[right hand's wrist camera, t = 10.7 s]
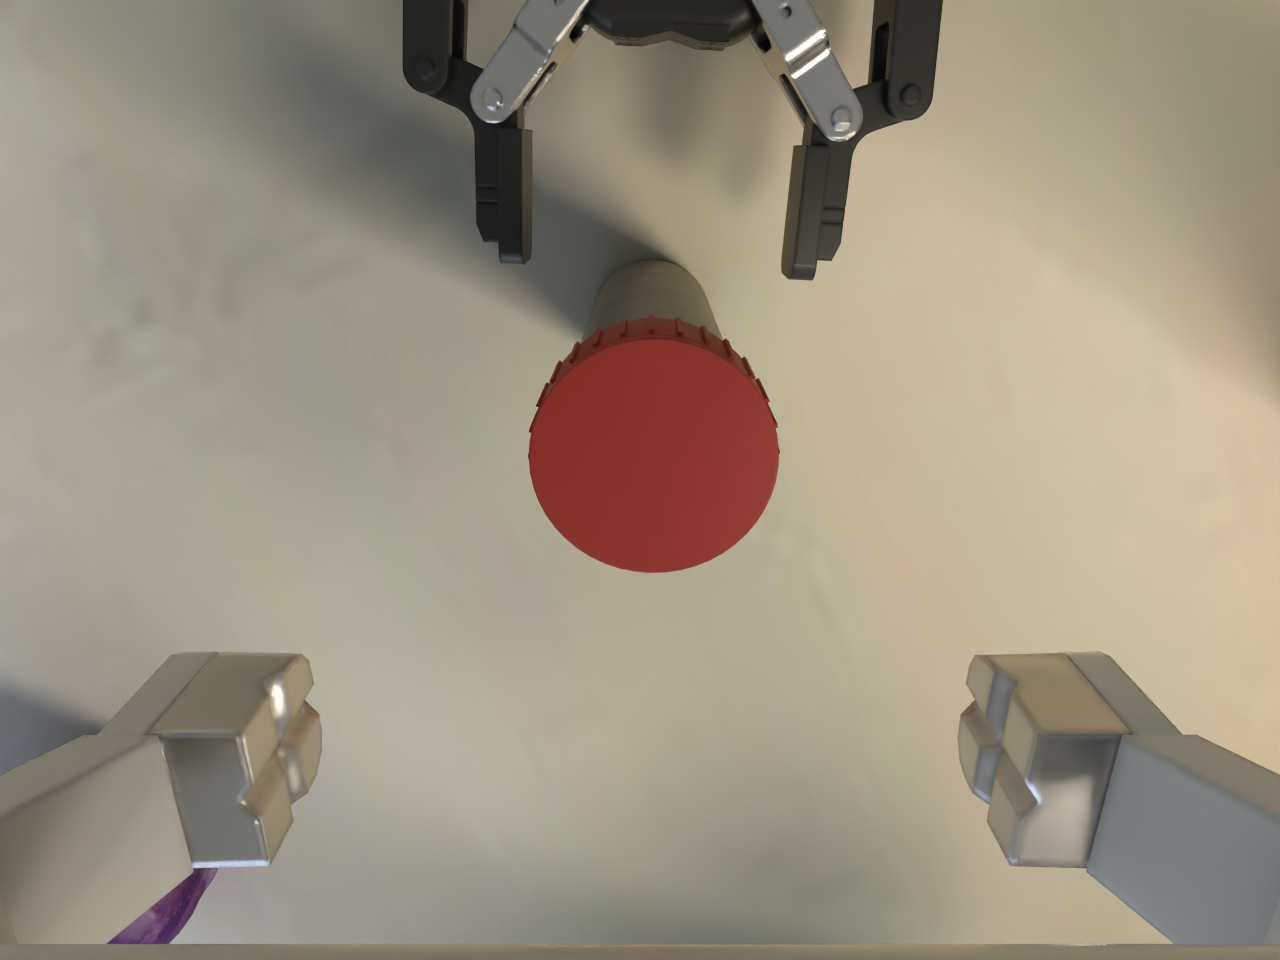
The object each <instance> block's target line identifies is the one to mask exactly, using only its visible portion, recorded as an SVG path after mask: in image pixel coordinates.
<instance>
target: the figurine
mask: <svg viewBox="0 0 1280 960" xmlns="http://www.w3.org/2000/svg"><path fill="white" fill-rule="evenodd" d="M217 869H218V867H214V868H193V870H194V871H193V873H192V874H191V875H189V876H188V877H187V878H186V879H185V880H183V881H182V882H181V883H180V884H178V885H177V886H176V887H175V888H174V889H172V890H171V891H170V892H169V893H167V894H166V895H165V896H164V897H163V898H161V899H160V900H159V901H158V902H157V903H155V904H154V905H153V906H152V907H150V908H149V909H148V910H147V911H146V912H144V913H143V914H142V915H141V916H139V917H138V918H137V919H136V920H135V921H133V922H132V923H131V924H130V925H128V926H127V927H126V928H125V929H124V930H122V931H121V932H120V933H119V934H117V935H116V936H115V937H114V938H113V939H111V940H110V941H109V942H108V943H106V944H169V943H170V942H171V941H172V940H173V939H174V938H175V937H176V936H177V935H178V934H179V932H180V931H181V930H182V928H183V927H184V925H185V924H186V923H187V921H188V920H189V918H190V917H191V916H192V914H193V912H194V910H195V908H196V906H197V904H198V902H199V900H200V898H201V896H202V894H203V893H204V891H205V890H206V888H207V887H208V885H209V884H210V883H211V881H212V880H213V878H214V877H215V874H216V872H217Z"/></svg>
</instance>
